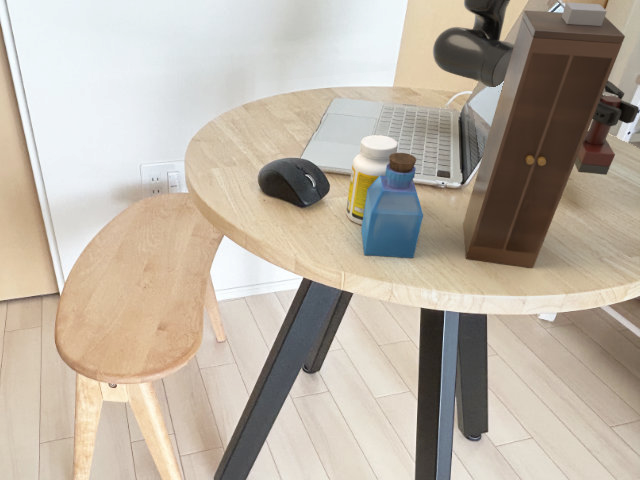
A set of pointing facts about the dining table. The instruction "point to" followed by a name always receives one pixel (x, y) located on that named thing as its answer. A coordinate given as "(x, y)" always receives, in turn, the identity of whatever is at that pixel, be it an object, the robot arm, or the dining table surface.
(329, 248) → the dining table surface
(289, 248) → the dining table surface
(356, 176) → the pill bottle
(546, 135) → the cupboard
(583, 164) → the stamp
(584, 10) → the small grey rectangular block
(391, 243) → the perfume bottle
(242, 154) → the dining table surface
